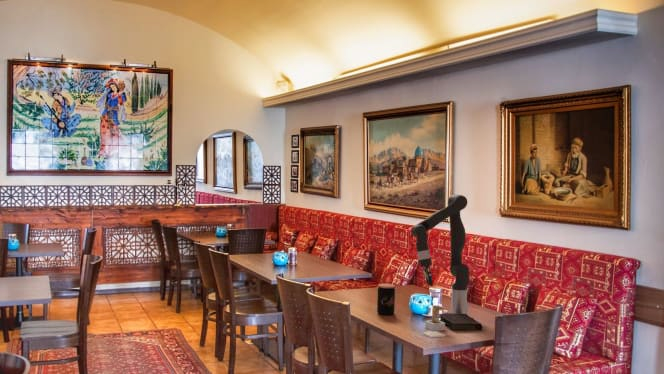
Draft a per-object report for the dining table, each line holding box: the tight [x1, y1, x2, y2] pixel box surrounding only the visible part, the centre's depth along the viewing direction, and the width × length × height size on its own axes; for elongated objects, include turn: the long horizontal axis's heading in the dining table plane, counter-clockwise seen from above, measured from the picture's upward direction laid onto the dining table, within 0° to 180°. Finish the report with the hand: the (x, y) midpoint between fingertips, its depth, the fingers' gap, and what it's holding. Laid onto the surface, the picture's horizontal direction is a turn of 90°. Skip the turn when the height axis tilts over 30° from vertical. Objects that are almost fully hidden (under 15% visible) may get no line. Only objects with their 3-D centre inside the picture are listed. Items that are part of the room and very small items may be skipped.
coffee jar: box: [376, 283, 396, 317], centre depth 427 cm, size 11×11×18 cm
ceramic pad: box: [422, 331, 446, 339], centre depth 378 cm, size 9×9×1 cm
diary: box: [439, 312, 483, 332], centre depth 402 cm, size 19×25×5 cm
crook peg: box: [431, 305, 445, 323], centre depth 391 cm, size 7×4×13 cm, turn 66°
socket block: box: [424, 319, 446, 332], centre depth 392 cm, size 8×8×4 cm
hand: (430, 285), depth 408 cm, fingers open, 8 cm apart
